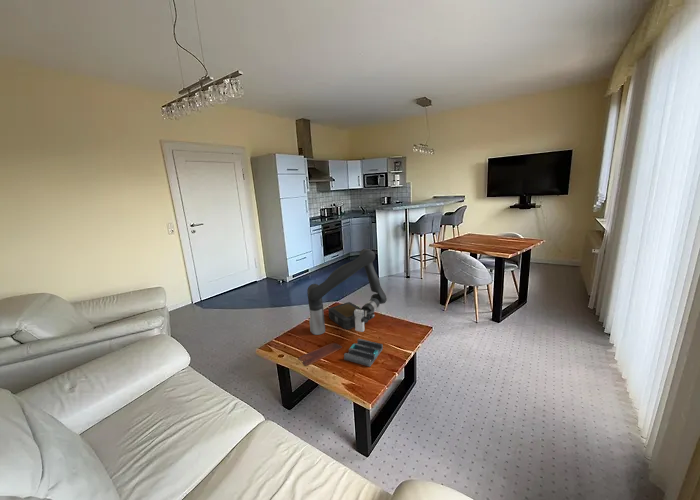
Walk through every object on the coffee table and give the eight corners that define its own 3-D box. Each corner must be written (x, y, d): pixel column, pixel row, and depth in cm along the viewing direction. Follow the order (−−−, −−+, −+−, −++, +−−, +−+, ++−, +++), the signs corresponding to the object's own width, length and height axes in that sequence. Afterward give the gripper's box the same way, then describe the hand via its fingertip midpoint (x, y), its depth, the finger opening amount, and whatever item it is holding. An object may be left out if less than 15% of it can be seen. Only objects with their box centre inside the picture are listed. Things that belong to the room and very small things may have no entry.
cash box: (327, 318, 213) (326, 308, 212) (349, 310, 224) (349, 301, 222) (345, 331, 193) (344, 320, 191) (369, 321, 204) (368, 312, 202)
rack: (344, 359, 161) (344, 354, 161) (358, 343, 177) (358, 338, 176) (370, 366, 154) (369, 361, 153) (382, 349, 169) (382, 344, 168)
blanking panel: (355, 330, 173) (354, 310, 170) (357, 328, 175) (356, 309, 172) (362, 332, 171) (361, 312, 168) (364, 330, 173) (363, 310, 170)
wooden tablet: (306, 367, 157) (305, 365, 157) (297, 359, 165) (297, 357, 165) (344, 348, 173) (344, 346, 173) (334, 342, 181) (334, 339, 180)
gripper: (358, 301, 186) (346, 312, 171) (379, 304, 179) (368, 316, 164) (359, 312, 187) (347, 323, 173) (379, 315, 181) (368, 328, 166)
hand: (357, 320), depth 169 cm, fingers closed on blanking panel, 5 cm apart
